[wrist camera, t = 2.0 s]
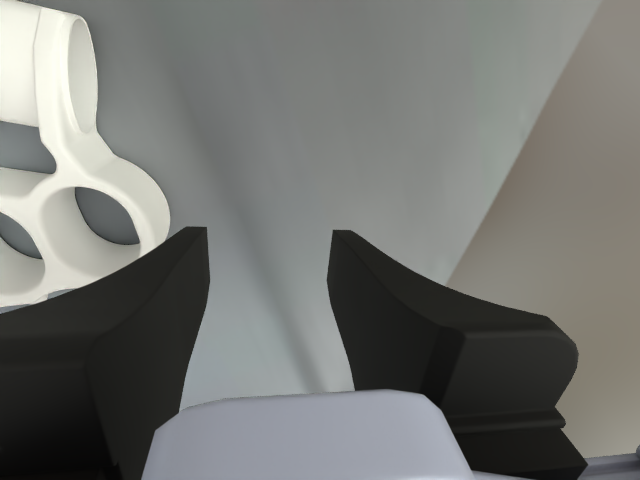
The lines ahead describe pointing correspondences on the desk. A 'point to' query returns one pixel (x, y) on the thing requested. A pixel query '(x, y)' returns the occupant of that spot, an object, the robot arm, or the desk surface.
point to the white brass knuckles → (63, 159)
